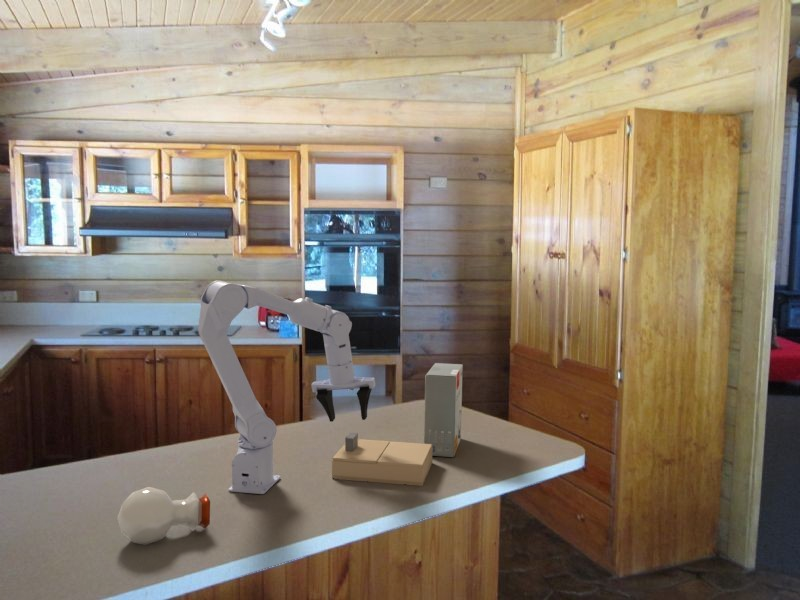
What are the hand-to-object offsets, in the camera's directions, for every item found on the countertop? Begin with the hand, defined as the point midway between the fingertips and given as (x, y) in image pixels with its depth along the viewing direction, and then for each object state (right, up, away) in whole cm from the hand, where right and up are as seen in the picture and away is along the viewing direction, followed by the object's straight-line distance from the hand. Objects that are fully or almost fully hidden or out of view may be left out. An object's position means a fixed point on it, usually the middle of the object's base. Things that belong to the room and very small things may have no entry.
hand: (348, 419), depth 151 cm
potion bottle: (-30, -15, -34) cm, 48 cm away
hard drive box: (+23, -10, +14) cm, 28 cm away
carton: (+8, -11, -2) cm, 14 cm away
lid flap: (+3, -7, -1) cm, 8 cm away
